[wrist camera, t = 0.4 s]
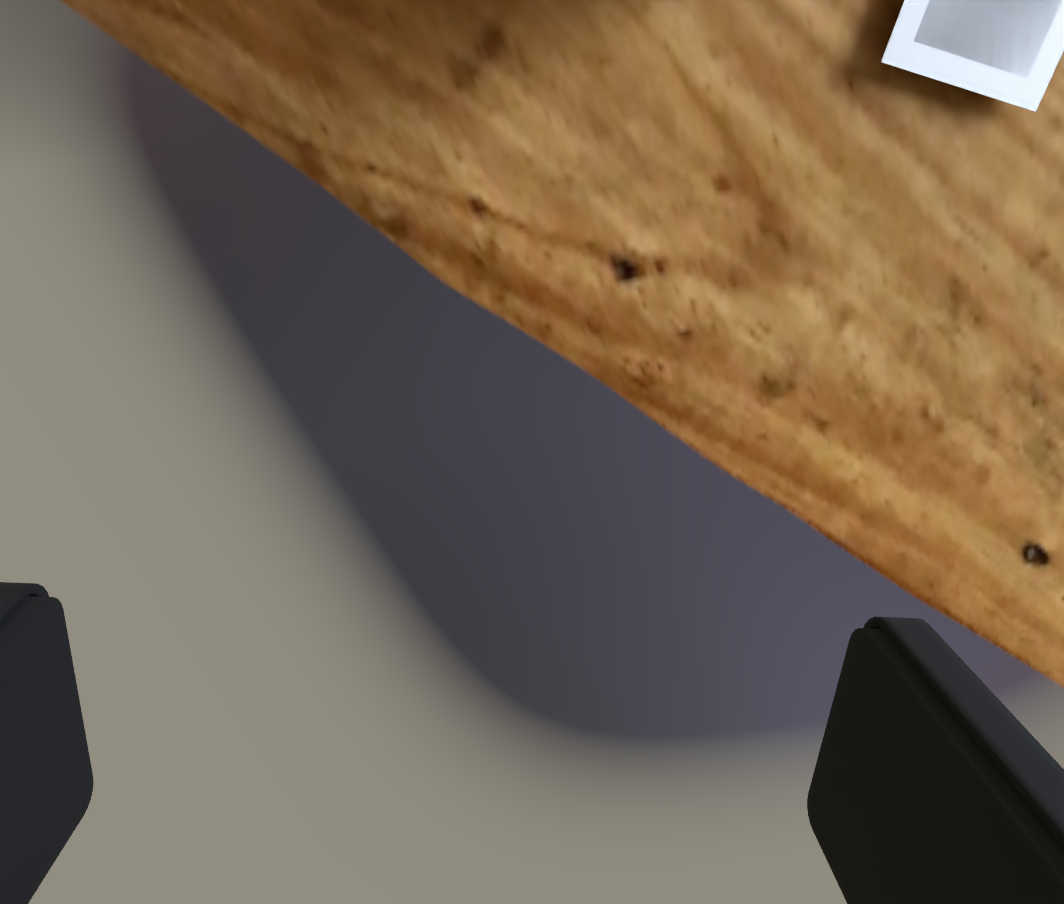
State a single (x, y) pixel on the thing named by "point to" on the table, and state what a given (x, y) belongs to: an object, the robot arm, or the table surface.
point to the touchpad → (981, 45)
